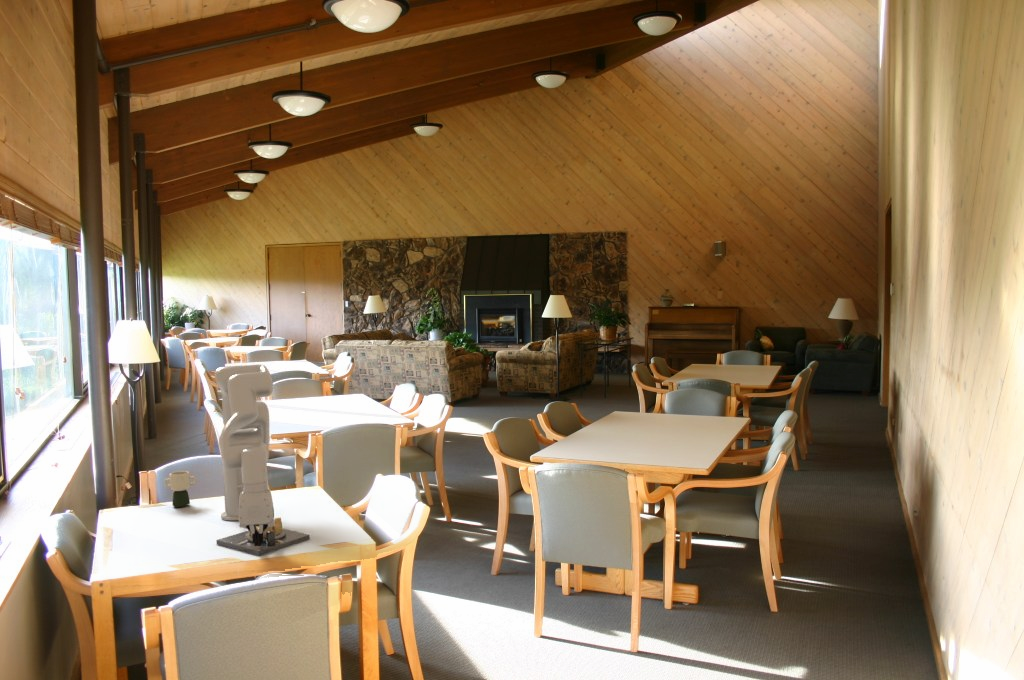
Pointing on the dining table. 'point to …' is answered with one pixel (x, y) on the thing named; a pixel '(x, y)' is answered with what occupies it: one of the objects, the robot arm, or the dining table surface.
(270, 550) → the base plate
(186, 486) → the character mug
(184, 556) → the dining table surface
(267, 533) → the knobbed lever handle
